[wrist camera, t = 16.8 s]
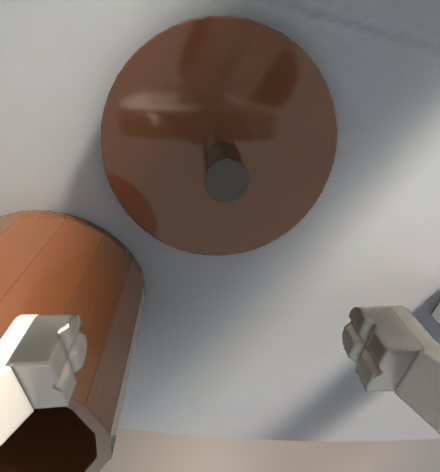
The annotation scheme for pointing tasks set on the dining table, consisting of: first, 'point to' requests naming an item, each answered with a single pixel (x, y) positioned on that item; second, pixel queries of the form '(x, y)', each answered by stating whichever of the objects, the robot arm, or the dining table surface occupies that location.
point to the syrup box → (437, 313)
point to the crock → (93, 325)
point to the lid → (218, 135)
